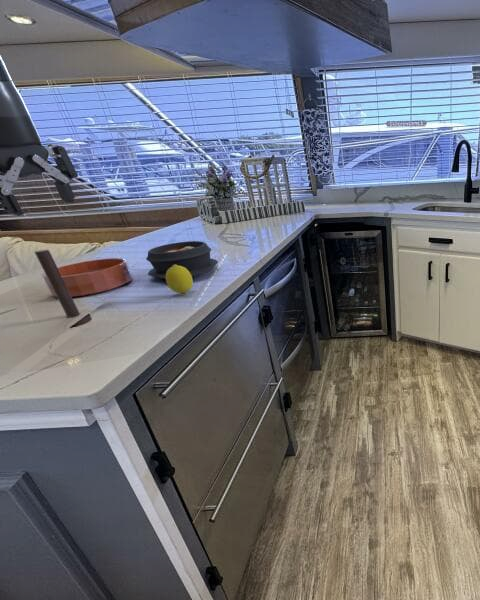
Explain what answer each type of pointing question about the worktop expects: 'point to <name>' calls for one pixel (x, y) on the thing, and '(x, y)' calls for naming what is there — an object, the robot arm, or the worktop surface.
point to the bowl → (93, 276)
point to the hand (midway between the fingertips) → (44, 207)
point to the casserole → (181, 258)
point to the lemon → (179, 279)
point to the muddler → (60, 287)
